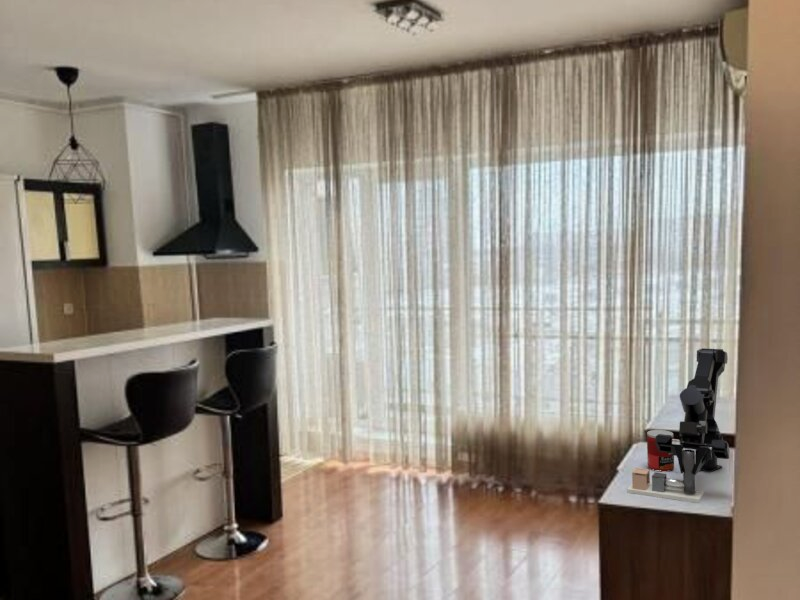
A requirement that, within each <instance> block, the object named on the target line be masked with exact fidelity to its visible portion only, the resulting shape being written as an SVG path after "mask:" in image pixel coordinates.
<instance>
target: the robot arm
mask: <svg viewBox="0 0 800 600" xmlns="http://www.w3.org/2000/svg"><path fill="white" fill-rule="evenodd" d="M728 358H729V357H728V352H726V351H724V349H723V348H722V349H721V348H705V347H704V348H699V349H698V350H696V363H697V365H696V368H695V369H696V370H695V374H694V377H693V378H692V379H691V380H689V381H688V382H687V384H686V385H687V386H686V388H684V389H683V390H682V391H681V392H680V394H679V400H680V402H681V406H682V409H683V412H684V413H685V414H684V420H683V421H679V432H678V433H679V438H680V439H676V438H674V439H672V437H671V435H663V434H658V435H657V436H656V438H655V443H656V446H657V449H658V451H660V452H668V453H670V452H671V451H672V453H673V455H674V457H677V461H678V465H679V470H680V471H679V472H680V474H682V475H683V450H694V451H695V467H694V475H695V476H697V474H698V473H699V471H700V470H701V471H705V472H709V473H711V472H714V471H716V470H719V469H722V468H723V465H720V464H718V459H724V460H728V459H730V446H729V443H728V441H727V440H724V439H723V436H722V434H721V431H720V428H719V426H718V423H717V421H716V419H715V415H716V406H717V405H716V404H717V394H718V382H719V377H720V376H721V375H722V374H723V373H724V372H725V368H726V365H727V364H728Z"/></svg>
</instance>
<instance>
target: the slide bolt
mask: <svg viewBox="0 0 800 600" xmlns="http://www.w3.org/2000/svg"><path fill="white" fill-rule="evenodd" d="M695 454H696V450H694V449H683V474H682V475H683V477H682V478H683V480H682V479H675V478H668V477H667V478H664V485H666V486H667V487H674V488H681V489H684V493H687V494H694V493H695V491H696V475H694V467H695Z"/></svg>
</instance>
